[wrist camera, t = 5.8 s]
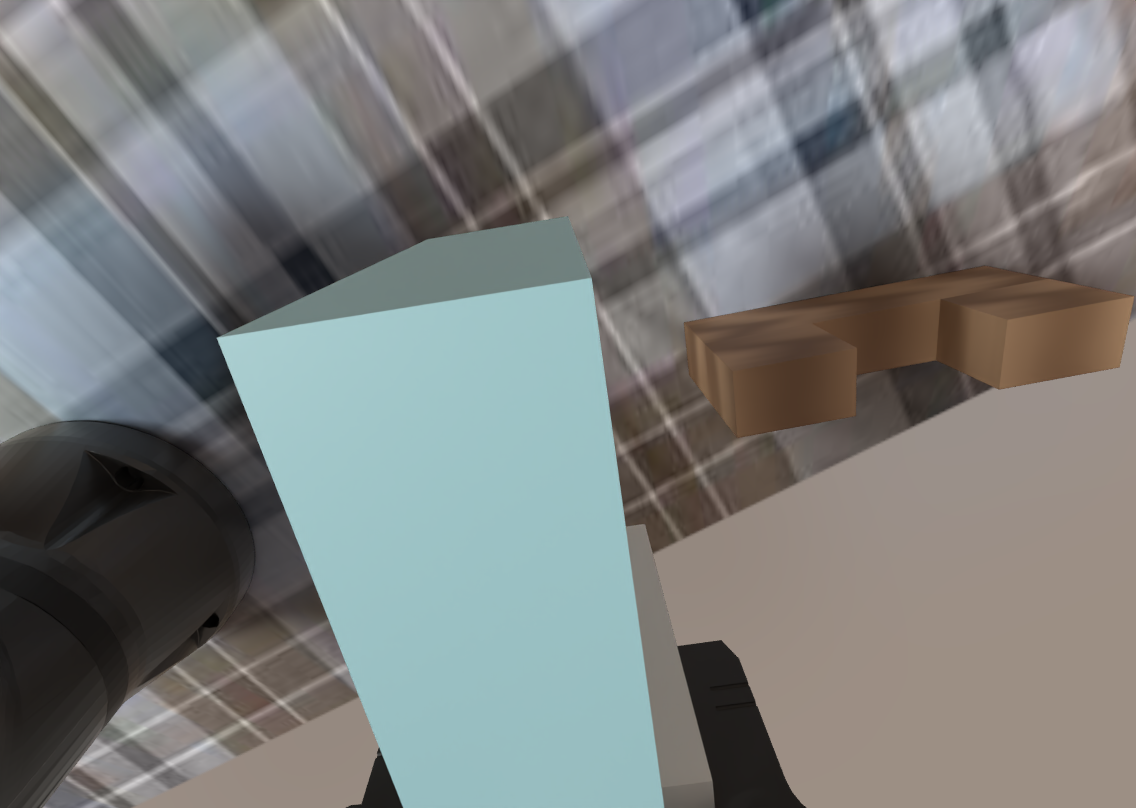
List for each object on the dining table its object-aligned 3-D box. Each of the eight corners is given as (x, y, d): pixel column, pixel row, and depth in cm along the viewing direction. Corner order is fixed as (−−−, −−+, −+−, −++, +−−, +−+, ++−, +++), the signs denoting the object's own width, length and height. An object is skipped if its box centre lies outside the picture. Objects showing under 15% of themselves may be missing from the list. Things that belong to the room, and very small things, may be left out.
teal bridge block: (561, 801, 19) (566, 1218, 11) (427, 239, 12) (217, 337, 4) (652, 789, 18) (718, 1203, 11) (568, 216, 12) (591, 278, 4)
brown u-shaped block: (689, 375, 31) (737, 438, 24) (683, 322, 30) (732, 371, 23) (979, 320, 31) (1119, 367, 23) (984, 265, 30) (1134, 296, 22)
